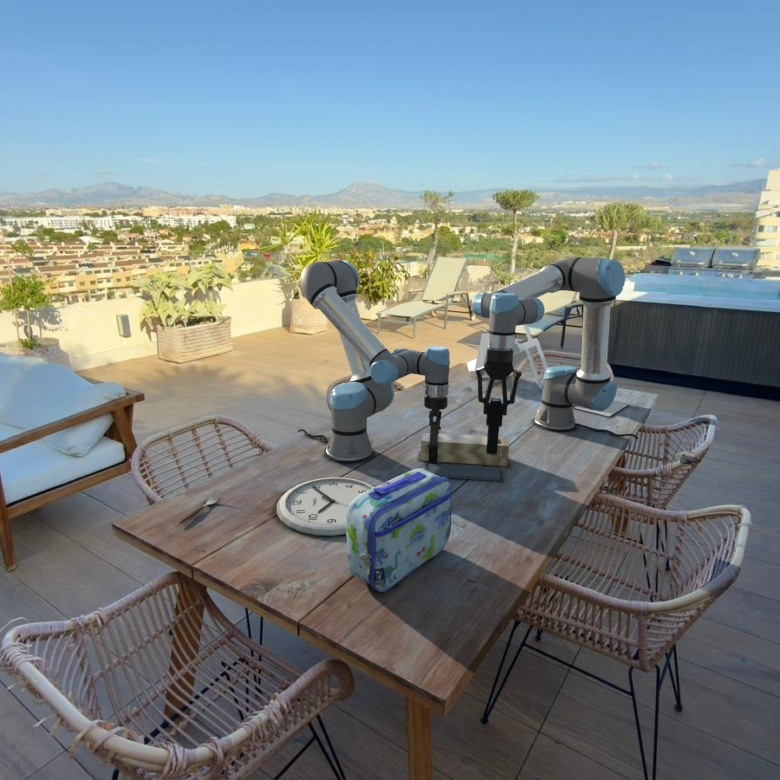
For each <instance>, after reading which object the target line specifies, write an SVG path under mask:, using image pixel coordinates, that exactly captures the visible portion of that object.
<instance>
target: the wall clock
mask: <svg viewBox="0 0 780 780" xmlns="http://www.w3.org/2000/svg"><path fill="white" fill-rule="evenodd" d="M375 487H376V486H374V485H372V484H371V483H369V482H365V481H362V480H359V479H355V478H349V477H338V476H337V477H335V476H333V477H332V476H331V477H322V478H317V479H312V480H307V481H305V482H302V483H299V484H297V485H295V486H293V487H292V488H290V489H288V490H287V491H286V492H285V493H284V494H283V495H281V496H280V498H279V499H278V502H277V503H276V515H277V517H278V518H279V520H280V521H281V522H282V523H283V524H285V525H286V526H287V527H288V528H290V529H293V530H295V531H297V532H299V533H303V534H308V535H312V536H327V537H328V536H329V537H331V536H332V537H333V536H342V535H346V515H347V510H348V507H349V505H350V504H351V502H352V501H353V500H354V498H356V497H357V496H358V495H360V494H362V493H364V492H366V491H368V490H370V489H373V488H375Z"/></svg>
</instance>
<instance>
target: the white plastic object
mask: <svg viewBox="0 0 780 780" xmlns="http://www.w3.org/2000/svg"><path fill="white" fill-rule="evenodd" d="M522 326H523V328H524V329H523V330H524V332H525V335H526V338H527V341H524V342H522V343H521V342H519V341H517V338H515V341H514V348H512V349H513V351H514V352H513V363H512V364H513V367H514V366H516V365H518V364H519V363H520V362H521V361H523V360H525V359H526V357H527V360H528V363H529V367H530V369H531V372H532V375H533V379H534V382H535V384H536V385H537V386H538V388H539V389H540V390H543V385H542V382H541V380H540V377H539V374H538V371H537V368H536V365H535V361H534V358H533V355H532V354H535V353H537V352H538V355H539V358H540V360H541V364H542V367H543V369H544V372H545V371H546V369H547V368H549V366H548V363H547V359H546V357H545V354H544V352H543V351H544V350H543V348H542V346H541V343H540V340H539V339H538V338H537V337H535V338H533V337H532V334H531V331H530V328H529V324H525V325H522ZM480 337H481V338H480V342H479V346H478V347H479V348H478V351H477V355H476V358H475V359H473V360H470V361H468V362H466V365H467V369H468V373H469V374H470V375H471V376H472V377H473V378H476V377H477V374H476V368H482V367H484V365H485V363H486V355H487V349H488V348H489V347H488V346H487V343H488V333H487V332H486V333H481V336H480ZM483 376H488V374H487V373H486V371H484V374H483V375H482V377H483Z"/></svg>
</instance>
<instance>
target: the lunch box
mask: <svg viewBox="0 0 780 780" xmlns="http://www.w3.org/2000/svg"><path fill="white" fill-rule="evenodd" d="M374 487H375V488H373V489H370V490H368V491H366V492H364V493H362V494H360V495H358V496H357V497H356V498H354V500H353V501H352V502H351V504H350V505H349V507H348V510H347V515H346V534H345V535H346V559H347V561H346V562H347V567H348V571H349V573H350V574H351V575H353V576H354V577H357V578H358V579H361V580H362V581H364V582H365V583H366V584H368V585H370V587H371V588H372V589H373V590H375V591H377V592H379V593H385V592H387V591H389V590H390V589H392V588H393V587H394V586H395V585H396V584H397V583H399V582H401V581H402V580H403V579H404V578H406V577H408V576H409V575H411V573H413V572H414V571H415V570H417V569H418V568H419V567H420V566H422V564H424V563H426V562H428V560H431V559H433V558H435V557H436V556H437V555H438V554H440V553H441V552H442V551H443V550H444V549H445V547H446V546H447V543H448V541H449V539H450V536H451V531H452V511H453V510H452V509H453V508H452V507H453V504H452V503H453V501H452V500H453V499H452V483H451V480H450V479H449V478H448V477H439V476H437V475H435V474H433V473H431V472H429V470H428V469H426V468H423V467H421V468H419V467H418V468H414V469H412V470H409V471H406V472H405V473H403V474H400V475H398V476H396V477H394V478H391V479H390V480H387V481H385V482H383V483H381V484H378V485H376V486H374Z"/></svg>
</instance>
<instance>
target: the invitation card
mask: <svg viewBox="0 0 780 780" xmlns="http://www.w3.org/2000/svg"><path fill="white" fill-rule="evenodd" d="M628 406H629V404H627V403H623V402H618V401H614V400H613V402H612V403H611V405H610V406H609V407H608V408H607V409H606V410H604V411H596V410H590V409H588V408H585V407H581V406H578V405H575V406H574V407H573V409H575V410H581V411H584V412H587V413H593V414H596V415H600V416H604V417H608V418H609V417H611V416H613V415H614V414H616V413H617V412H619V411H621V410H623V409H624V408H626V407H628Z"/></svg>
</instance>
